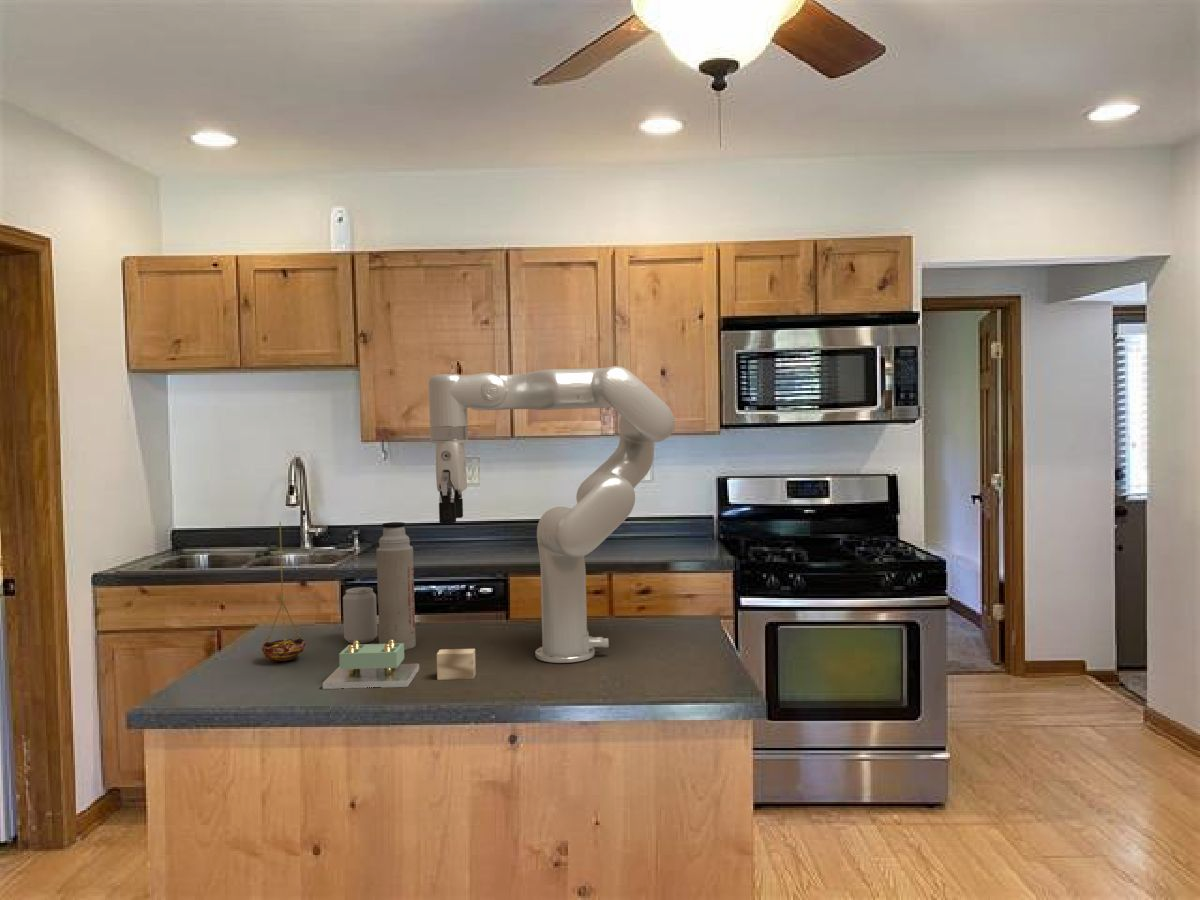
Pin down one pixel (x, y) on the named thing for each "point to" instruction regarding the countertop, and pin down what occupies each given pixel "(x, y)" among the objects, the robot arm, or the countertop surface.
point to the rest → (456, 664)
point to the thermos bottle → (396, 586)
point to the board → (372, 657)
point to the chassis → (371, 674)
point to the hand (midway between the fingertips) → (451, 520)
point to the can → (360, 615)
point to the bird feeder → (286, 647)
